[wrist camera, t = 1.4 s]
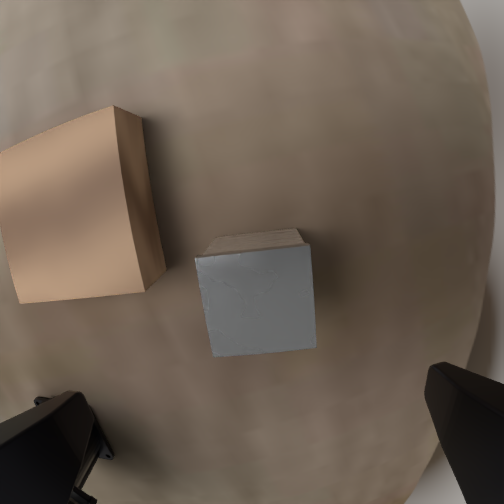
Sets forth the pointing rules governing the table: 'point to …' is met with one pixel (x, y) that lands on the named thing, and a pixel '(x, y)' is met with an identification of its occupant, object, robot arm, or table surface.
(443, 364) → the robot arm
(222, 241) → the grey cube
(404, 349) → the table surface
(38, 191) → the tan block
